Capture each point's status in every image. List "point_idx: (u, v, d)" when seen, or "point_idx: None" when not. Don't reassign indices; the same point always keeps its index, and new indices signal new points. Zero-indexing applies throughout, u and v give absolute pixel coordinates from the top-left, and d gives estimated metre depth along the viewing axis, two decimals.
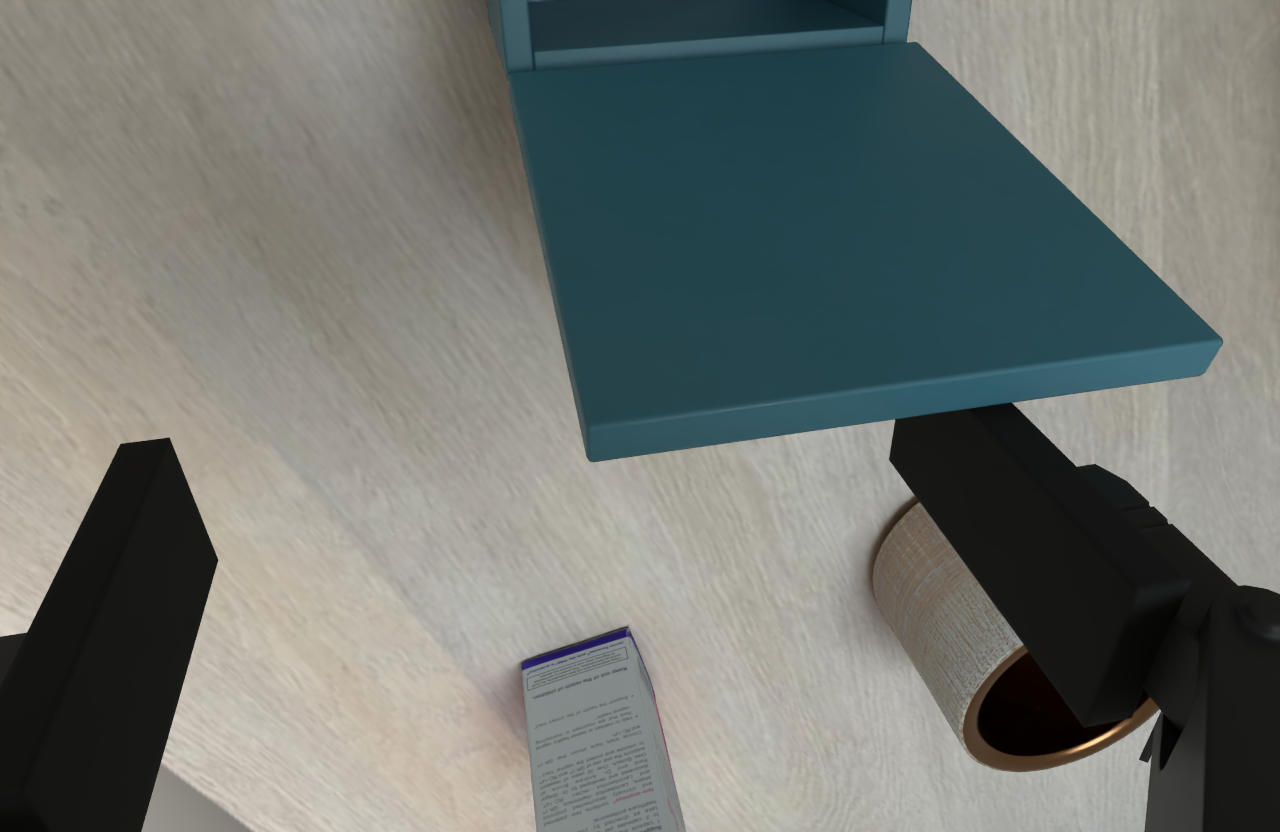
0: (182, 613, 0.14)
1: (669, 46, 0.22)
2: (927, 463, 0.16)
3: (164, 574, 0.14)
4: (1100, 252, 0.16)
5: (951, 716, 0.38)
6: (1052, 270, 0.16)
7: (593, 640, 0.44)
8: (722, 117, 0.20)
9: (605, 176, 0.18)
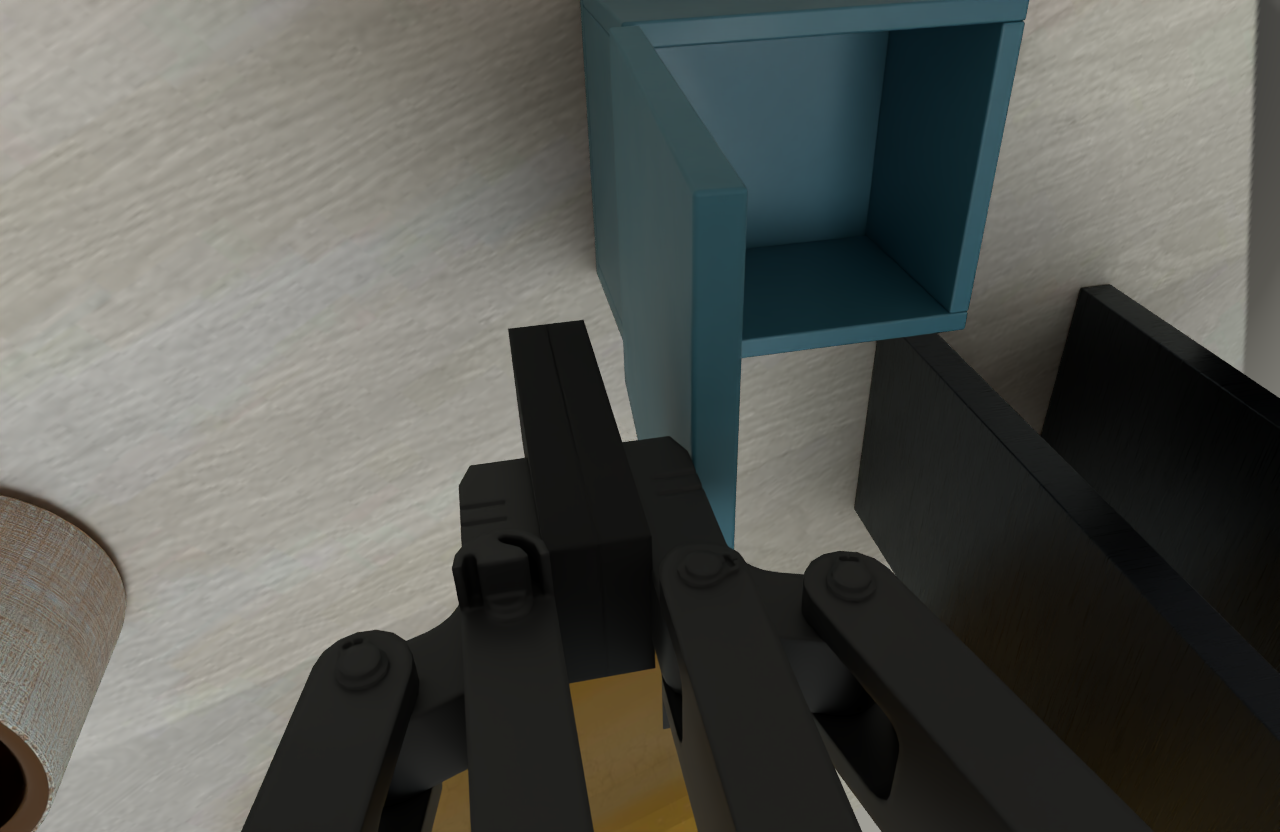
0: None
1: None
2: None
3: None
4: None
5: None
6: None
7: None
8: None
9: None
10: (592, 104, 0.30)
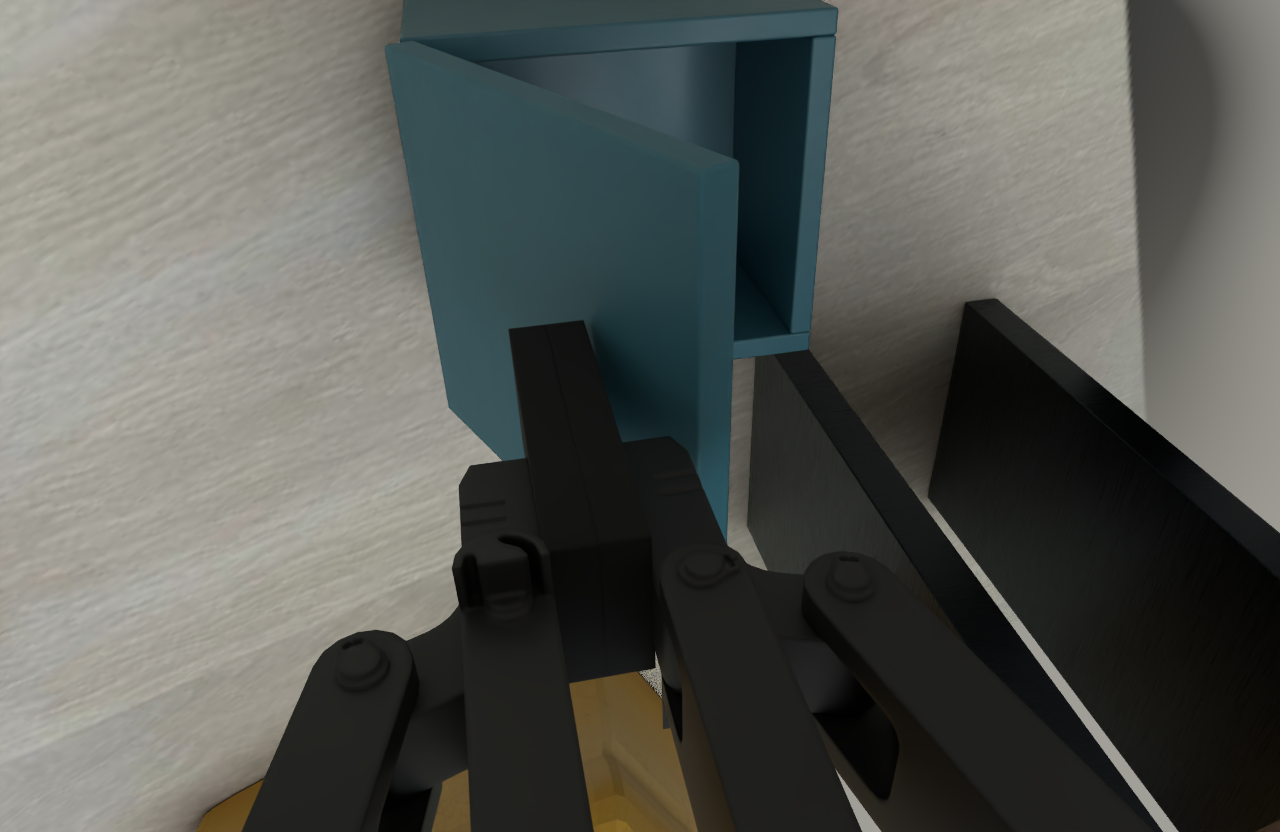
0: None
1: None
2: None
3: None
4: None
5: None
6: None
7: None
8: None
9: None
10: None
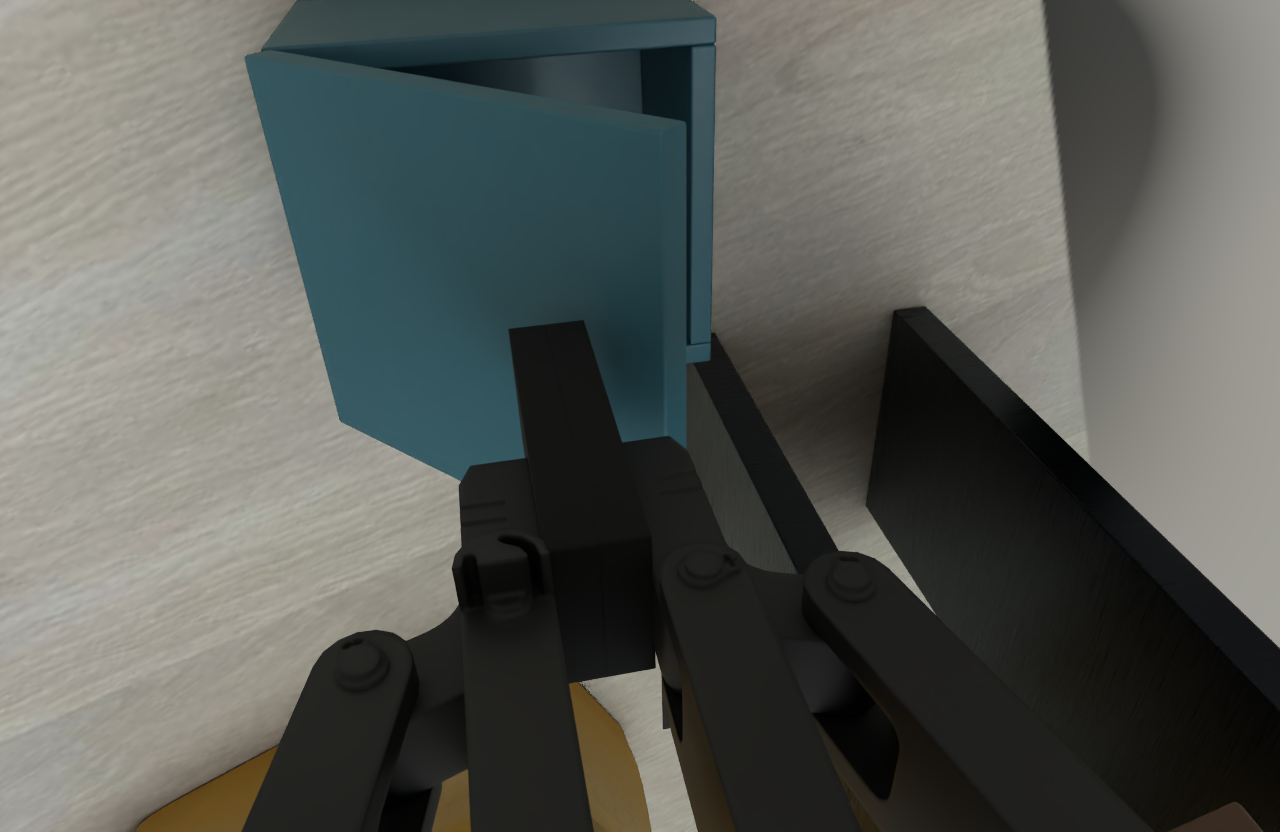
0: None
1: None
2: None
3: None
4: None
5: None
6: None
7: None
8: None
9: None
10: None
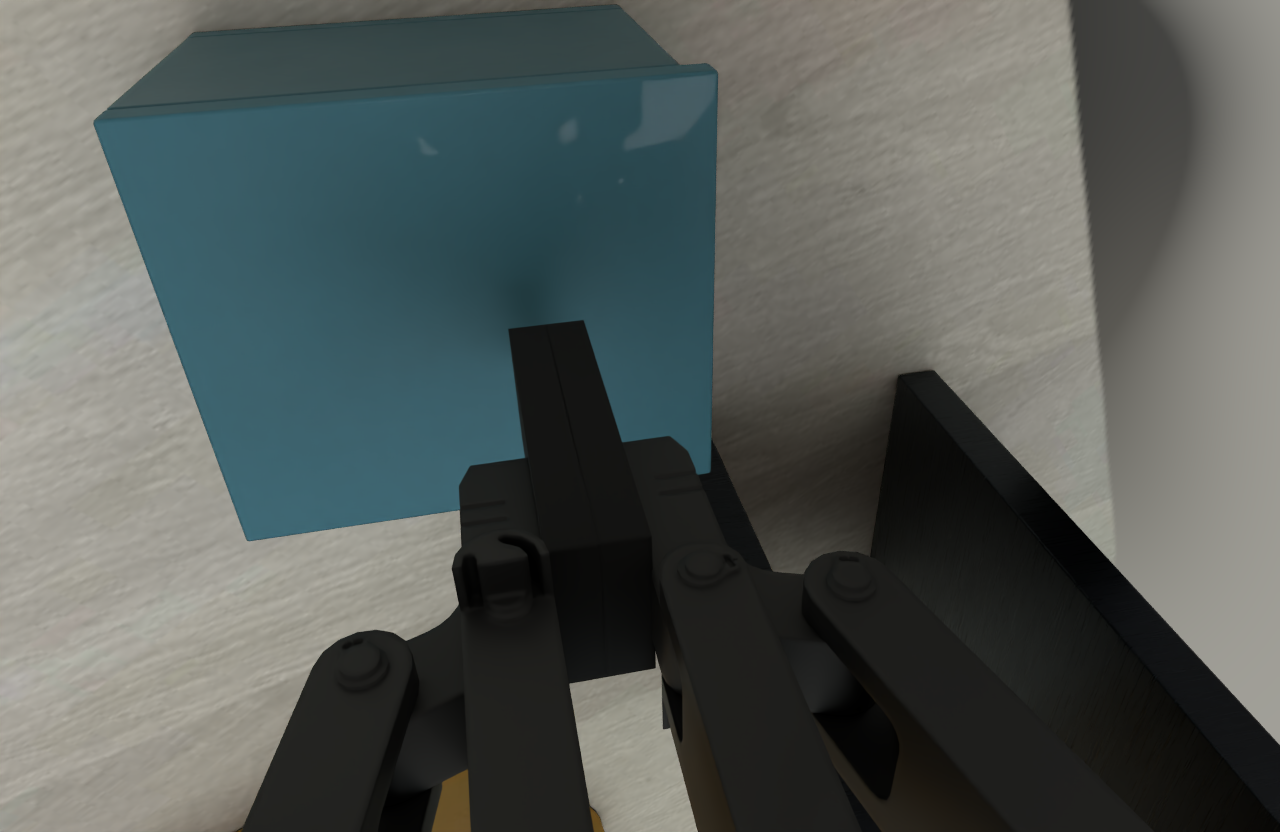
0: None
1: None
2: None
3: None
4: None
5: None
6: None
7: None
8: None
9: None
10: None
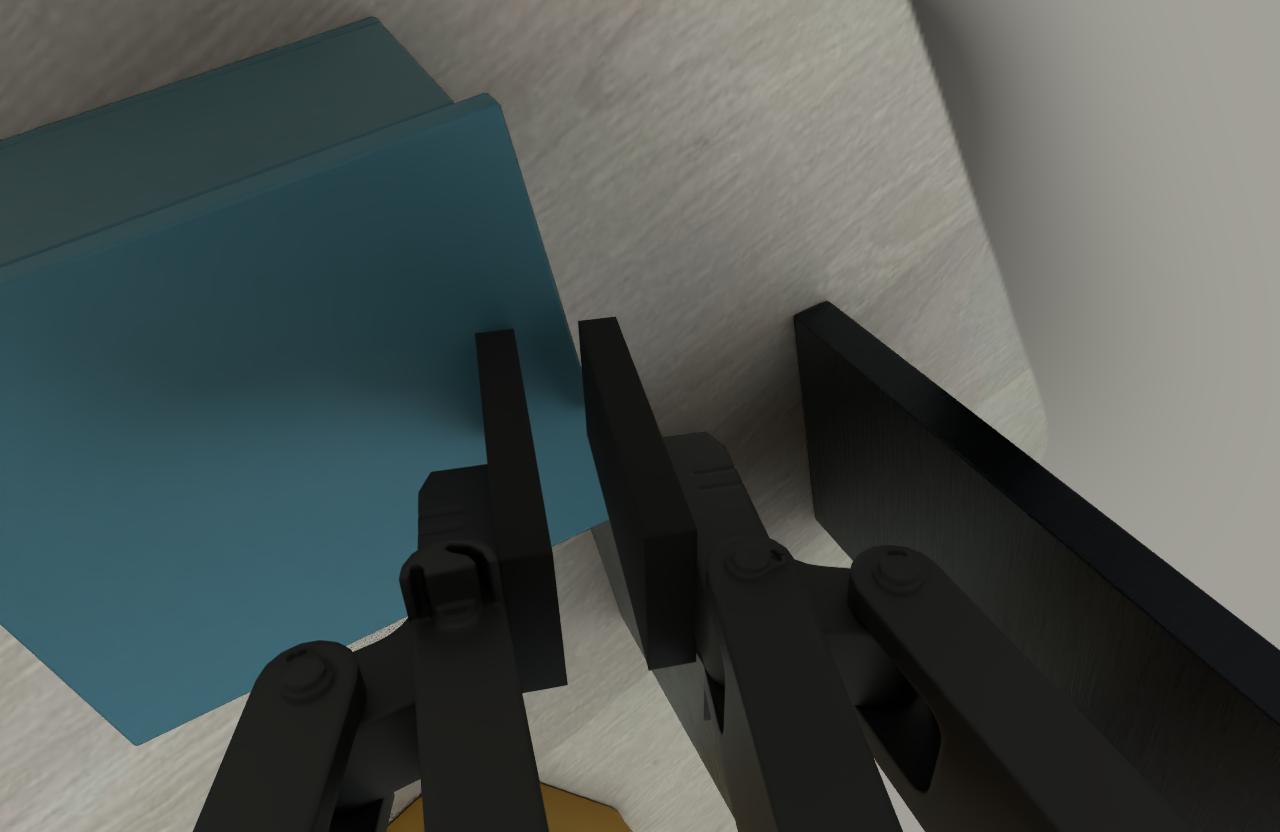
0: None
1: None
2: (594, 434, 0.17)
3: None
4: None
5: None
6: None
7: None
8: None
9: None
10: None
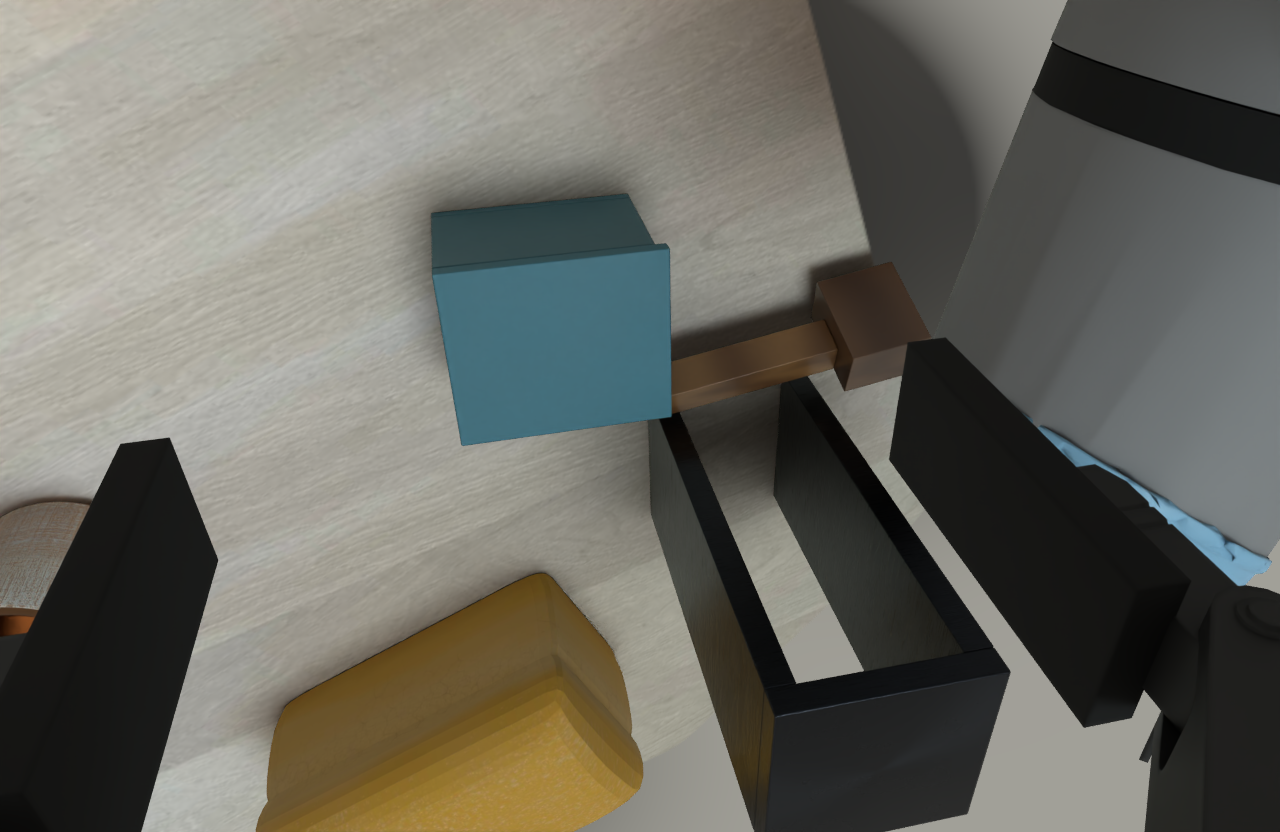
0: (182, 613, 0.14)
1: None
2: (927, 463, 0.16)
3: (164, 574, 0.14)
4: None
5: None
6: None
7: None
8: None
9: None
10: None
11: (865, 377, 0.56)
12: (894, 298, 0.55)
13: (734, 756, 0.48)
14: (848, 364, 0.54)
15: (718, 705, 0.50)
